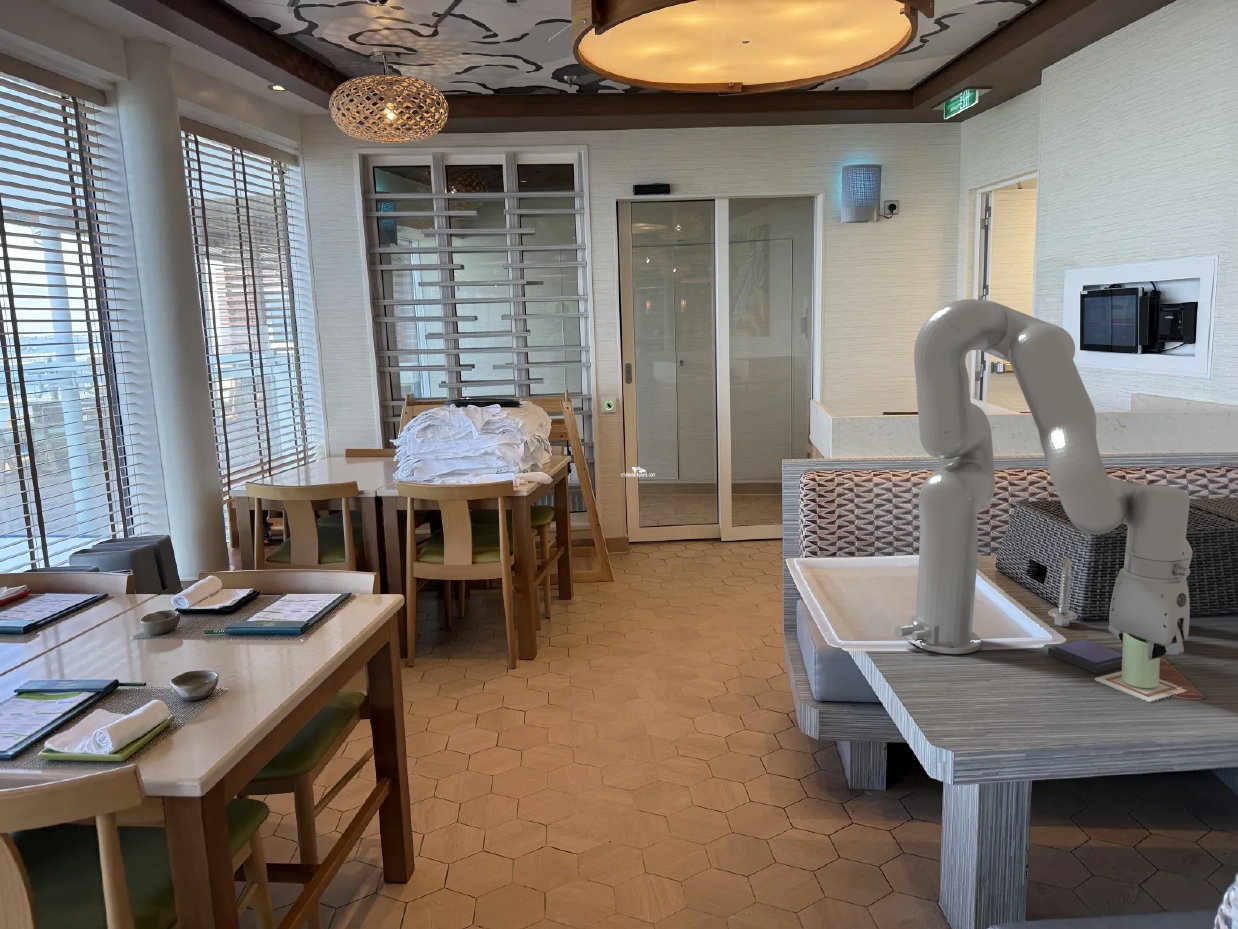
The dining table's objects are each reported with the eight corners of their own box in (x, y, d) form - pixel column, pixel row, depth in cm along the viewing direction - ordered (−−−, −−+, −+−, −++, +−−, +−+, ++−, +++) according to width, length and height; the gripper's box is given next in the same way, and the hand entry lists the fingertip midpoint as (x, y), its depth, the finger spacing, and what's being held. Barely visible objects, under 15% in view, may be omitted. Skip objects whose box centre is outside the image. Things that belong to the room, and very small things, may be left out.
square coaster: (1149, 702, 127) (1150, 700, 127) (1094, 680, 135) (1094, 677, 135) (1187, 691, 131) (1187, 689, 131) (1131, 670, 139) (1131, 667, 139)
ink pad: (1096, 673, 137) (1097, 665, 137) (1047, 654, 145) (1048, 645, 145) (1132, 664, 141) (1133, 655, 141) (1083, 645, 149) (1084, 637, 149)
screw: (1081, 629, 157) (1054, 628, 157) (1068, 619, 162) (1042, 619, 162) (1087, 561, 155) (1060, 561, 155) (1074, 554, 160) (1048, 554, 160)
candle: (1165, 684, 132) (1167, 632, 131) (1147, 690, 129) (1149, 638, 129) (1132, 675, 136) (1134, 625, 135) (1114, 681, 134) (1116, 630, 133)
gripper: (1220, 576, 124) (1206, 694, 127) (1121, 551, 138) (1110, 658, 141) (1188, 583, 121) (1174, 704, 124) (1090, 556, 135) (1079, 665, 138)
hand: (1140, 679), depth 133 cm, fingers closed on candle, 1 cm apart
